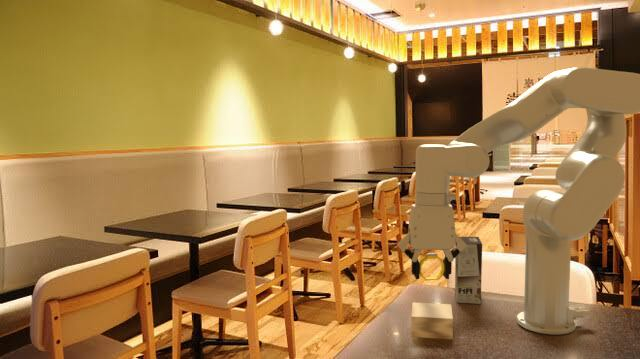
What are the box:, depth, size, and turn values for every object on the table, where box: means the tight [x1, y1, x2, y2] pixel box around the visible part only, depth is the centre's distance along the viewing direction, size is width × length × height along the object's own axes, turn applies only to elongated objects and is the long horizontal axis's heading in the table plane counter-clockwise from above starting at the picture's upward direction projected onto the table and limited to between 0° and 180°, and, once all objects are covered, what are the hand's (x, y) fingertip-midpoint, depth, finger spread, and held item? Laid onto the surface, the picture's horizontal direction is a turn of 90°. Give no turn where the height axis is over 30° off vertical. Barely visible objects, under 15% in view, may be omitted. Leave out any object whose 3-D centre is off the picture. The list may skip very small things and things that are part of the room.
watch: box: [419, 252, 445, 281], centre depth 118 cm, size 6×3×6 cm, turn 98°
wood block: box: [410, 302, 454, 340], centre depth 120 cm, size 9×9×5 cm
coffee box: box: [454, 236, 483, 305], centre depth 140 cm, size 9×6×16 cm
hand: (431, 276), depth 118 cm, fingers closed on watch, 6 cm apart
